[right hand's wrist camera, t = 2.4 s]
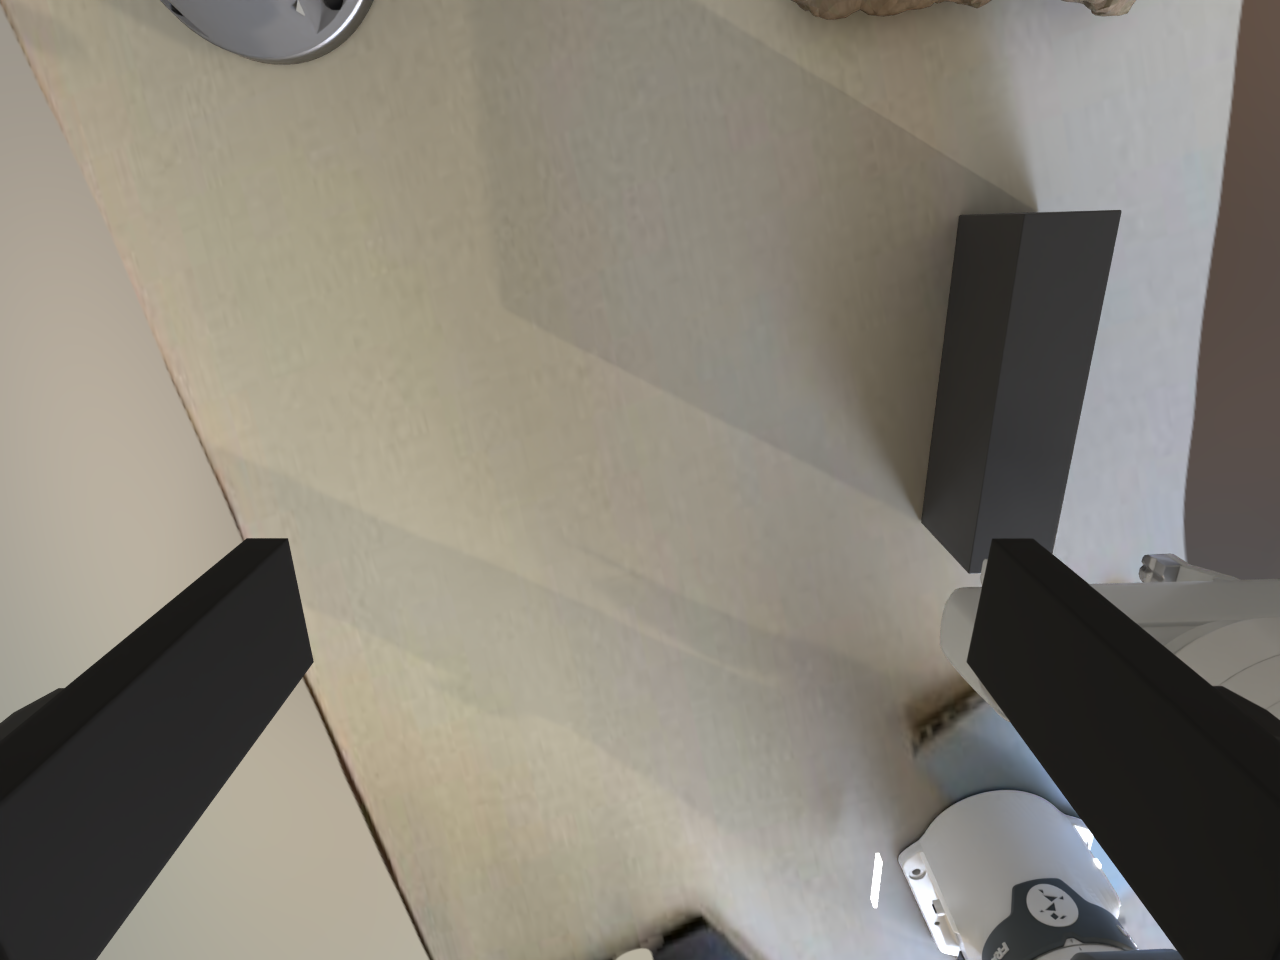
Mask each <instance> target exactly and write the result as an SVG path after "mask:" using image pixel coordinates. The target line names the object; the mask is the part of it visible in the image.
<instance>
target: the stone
mask: <svg viewBox="0 0 1280 960" xmlns="http://www.w3.org/2000/svg"><path fill="white" fill-rule="evenodd" d="M792 1H794V2H796V3H797V4H798V5H799V6H800V7H801V8H802V9H804V10H805V11H807V10H809V11H810V12H811V13H812V14H813V15H814V16H815V17H821V18H824V19H827V20H834V19H839V18H846V17H847V16H849V15H850V14H852V13H854V12H856V11H859V10H862V11H863V12H865V13H867V14H868V15H877V16H889V15H896V14H899V13H901V12H904V11H906V10H914V9H922V8H926V7H929V6H931V5H932V4H933V3H940V2H944V1H948V2H955V3H957V4H964V5H969V6H972V7H975V8H979V7H981V6H983V5H985V4H986V3H988V2H990V1H991V0H792ZM1063 1H1066V2H1078V3H1082V4H1084V5H1085V6H1086V7H1087V8H1089V9H1090V10H1091V12H1092V13H1093V14H1094V15H1098V16H1120V15H1123V14H1127V13H1128V12H1129V10H1130V8H1131V7H1132V5H1133V4H1134V2H1135V1H1136V0H1063Z"/></svg>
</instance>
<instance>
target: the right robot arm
mask: <svg viewBox="0 0 1280 960" xmlns="http://www.w3.org/2000/svg"><path fill="white" fill-rule="evenodd" d="M161 1H162V2H163V4H164V5H165V6H166V7H167V8H168V9H169V10H170V11H171V12H172V13H173V14H174V15H175V16H176V17H177V18H178V19H179V20H180V21H181V22H183V23H184V24H185V25H186V26H187V27H189V28H190V29H191V30H192V31H194V32H195V33H197V34H198V35H199V36H201V37H202V38H204V39H206V40H207V41H209V42H211V43H213V44H214V45H216V46H219V47H221V48H223V49H225V50H227V51H230V52H232V53H234V54H237V55H239V56H242V57H245V58H248V59H250V60H254V61H258V62H262V63H269V64H283V65H287V64H298V63H302V62H307V61H310V60H313V59H316V58H319V57H321V56H323V55H325V54H327V53H329V52H331V51H332V50H334V49H335V48H337V47H338V46H340V45H341V44H342V43H343V42H344V41H346V40H347V39H348V38H349V37H350V36H351V35H352V34H353V32H354V31H355V30H356V29H357V28H358V26H359V25H360V24H361V22H362V21H363V19H364V17H365V16H366V14H367V12H368V11H369V9H370V6H371V4H372V2H373V0H161ZM312 663H313V657H312V652H311V647H310V642H309V637H308V633H307V628H306V623H305V618H304V613H303V609H302V604H301V599H300V594H299V589H298V585H297V580H296V575H295V570H294V565H293V561H292V556H291V551H290V546H289V541H288V538H247V539H246V540H244V541H243V542H242V543H241V544H239V545H238V546H237V547H236V548H235V549H233V550H232V551H231V552H230V553H229V554H227V555H226V556H225V557H224V558H223V559H221V560H220V561H219V562H218V563H216V564H215V565H214V566H213V567H212V568H210V569H209V570H208V571H207V572H205V573H204V574H203V575H202V576H201V577H199V578H198V579H197V580H196V581H194V582H193V583H192V584H191V585H190V586H188V587H187V588H186V589H185V590H184V591H182V592H181V593H180V594H179V595H177V596H176V597H175V598H174V599H173V600H171V601H170V602H169V603H168V604H167V605H165V606H164V607H163V608H162V609H160V610H159V611H158V612H157V613H156V614H154V615H153V616H152V617H151V618H150V619H148V620H147V621H146V622H145V623H143V624H142V625H141V626H140V627H139V628H137V629H136V630H135V631H134V632H132V633H131V634H130V635H129V636H128V637H126V638H125V639H124V640H123V641H122V642H120V643H119V644H118V645H117V646H115V647H114V648H113V649H112V650H111V651H109V652H108V653H107V654H106V655H104V656H103V657H102V658H101V659H100V660H98V661H97V662H96V663H95V664H94V665H92V666H91V667H90V668H89V669H87V670H86V671H85V672H84V673H83V674H81V675H80V676H79V677H78V678H76V679H75V680H74V681H73V682H72V683H70V684H69V685H68V686H67V687H66V688H58V689H56V690H55V691H53V692H51V693H49V694H47V695H46V696H44V697H42V698H40V699H38V700H36V701H34V702H33V703H31V704H29V705H27V706H25V707H23V708H21V709H20V710H18V711H16V712H14V713H13V714H11V715H10V716H9V717H8V718H6V719H5V720H4V721H3V722H1V723H0V960H96V959H97V958H98V956H99V955H100V954H101V952H102V951H103V950H104V948H105V947H106V946H107V944H108V943H109V941H110V940H111V939H112V937H113V936H114V934H115V933H116V932H117V930H118V929H119V928H120V926H121V925H122V924H123V922H124V921H125V919H126V918H127V917H128V915H129V914H130V913H131V911H132V910H133V909H134V907H135V906H136V904H137V903H138V902H139V900H140V899H141V898H142V896H143V895H144V893H145V892H146V891H147V889H148V888H149V887H150V885H151V884H152V883H153V881H154V880H155V878H156V877H157V876H158V874H159V873H160V872H161V870H162V869H163V867H164V866H165V865H166V863H167V862H168V861H169V859H170V858H171V856H172V855H173V854H174V852H175V851H176V850H177V848H178V847H179V846H180V844H181V843H182V841H183V840H184V839H185V837H186V836H187V835H188V833H189V832H190V830H191V829H192V828H193V826H194V825H195V824H196V822H197V821H198V820H199V818H200V817H201V815H202V814H203V813H204V811H205V810H206V809H207V807H208V806H209V804H210V803H211V802H212V800H213V799H214V798H215V796H216V795H217V794H218V792H219V791H220V789H221V788H222V787H223V785H224V784H225V783H226V781H227V780H228V778H229V777H230V776H231V774H232V773H233V772H234V770H235V769H236V767H237V766H238V765H239V763H240V762H241V761H242V759H243V758H244V757H245V755H246V754H247V752H248V751H249V750H250V748H251V747H252V746H253V744H254V743H255V742H256V740H257V739H258V737H259V736H260V735H261V733H262V732H263V731H264V729H265V728H266V726H267V725H268V724H269V722H270V721H271V720H272V718H273V717H274V716H275V714H276V713H277V711H278V710H279V709H280V707H281V706H282V705H283V703H284V702H285V700H286V699H287V698H288V696H289V695H290V694H291V692H292V691H293V690H294V688H295V687H296V685H297V684H298V683H299V681H300V680H301V679H302V677H303V676H304V674H305V673H306V672H307V670H308V669H309V668H310V666H311V665H312ZM967 663H968V665H969V666H970V668H971V669H972V670H973V672H974V673H975V674H976V676H977V677H978V679H979V680H980V681H981V683H982V684H983V685H984V687H985V688H986V690H987V691H988V692H989V694H990V695H991V696H992V698H993V699H994V700H995V702H996V703H997V705H998V706H999V707H1000V709H1001V710H1002V711H1003V713H1004V714H1005V716H1006V717H1007V718H1008V720H1009V721H1010V722H1011V724H1012V725H1013V726H1014V728H1015V729H1016V731H1017V732H1018V733H1019V735H1020V736H1021V737H1022V739H1023V740H1024V742H1025V743H1026V744H1027V746H1028V747H1029V748H1030V750H1031V751H1032V752H1033V754H1034V755H1035V757H1036V758H1037V759H1038V761H1039V762H1040V763H1041V765H1042V766H1043V768H1044V769H1045V770H1046V772H1047V773H1048V774H1049V776H1050V777H1051V778H1052V780H1053V781H1054V783H1055V784H1056V785H1057V787H1058V788H1059V789H1060V791H1061V792H1062V794H1063V795H1064V796H1065V798H1066V799H1067V800H1068V802H1069V803H1070V805H1071V806H1072V807H1073V809H1074V810H1075V811H1076V813H1077V814H1078V815H1079V817H1080V818H1081V820H1082V821H1083V822H1084V824H1085V825H1086V826H1087V828H1088V829H1089V831H1090V832H1091V833H1092V835H1093V836H1094V837H1095V839H1096V840H1097V841H1098V843H1099V844H1100V846H1101V847H1102V848H1103V850H1104V851H1105V852H1106V854H1107V855H1108V857H1109V858H1110V859H1111V861H1112V862H1113V863H1114V865H1115V866H1116V867H1117V869H1118V870H1119V872H1120V873H1121V874H1122V876H1123V877H1124V878H1125V880H1126V881H1127V883H1128V884H1129V885H1130V887H1131V888H1132V889H1133V891H1134V892H1135V893H1136V895H1137V896H1138V898H1139V899H1140V900H1141V902H1142V903H1143V904H1144V906H1145V907H1146V909H1147V910H1148V911H1149V913H1150V914H1151V915H1152V917H1153V918H1154V920H1155V921H1156V922H1157V924H1158V925H1159V926H1160V928H1161V929H1162V930H1163V932H1164V933H1165V935H1166V936H1167V937H1168V939H1169V940H1170V941H1171V943H1172V944H1173V946H1174V947H1175V948H1176V950H1177V951H1178V952H1179V954H1180V955H1181V956H1182V958H1183V959H1184V960H1280V720H1279V719H1278V718H1277V717H1275V716H1274V715H1273V714H1271V713H1270V712H1269V711H1268V710H1266V709H1264V708H1262V707H1260V706H1259V705H1257V704H1255V703H1253V702H1251V701H1249V700H1247V699H1246V698H1244V697H1242V696H1240V695H1238V694H1236V693H1234V692H1233V691H1231V690H1229V689H1227V688H1225V687H1223V686H1212V685H1211V684H1210V683H1208V682H1207V681H1206V680H1205V679H1204V678H1202V677H1201V676H1200V675H1199V674H1197V673H1196V672H1195V671H1194V670H1193V669H1191V668H1190V667H1189V666H1188V665H1186V664H1185V663H1184V662H1183V661H1182V660H1180V659H1179V658H1178V657H1177V656H1176V655H1174V654H1173V653H1172V652H1171V651H1169V650H1168V649H1167V648H1166V647H1165V646H1163V645H1162V644H1161V643H1160V642H1159V641H1157V640H1156V639H1155V638H1154V637H1152V636H1151V635H1150V634H1149V633H1148V632H1146V631H1145V630H1144V629H1143V628H1141V627H1140V626H1139V625H1138V624H1137V623H1135V622H1134V621H1133V620H1132V619H1131V618H1129V617H1128V616H1127V615H1126V614H1124V613H1123V612H1122V611H1121V610H1120V609H1118V608H1117V607H1116V606H1115V605H1114V604H1112V603H1111V602H1110V601H1109V600H1107V599H1106V598H1105V597H1104V596H1103V595H1101V594H1100V593H1099V592H1098V591H1096V590H1095V589H1094V588H1093V587H1092V586H1090V585H1089V584H1088V583H1087V582H1086V581H1084V580H1083V579H1082V578H1081V577H1079V576H1078V575H1077V574H1076V573H1075V572H1073V571H1072V570H1071V569H1070V568H1069V567H1067V566H1066V565H1065V564H1064V563H1062V562H1061V561H1060V560H1059V559H1058V558H1056V557H1055V556H1054V555H1053V554H1051V553H1050V552H1049V551H1048V550H1047V549H1045V548H1044V547H1043V546H1042V545H1041V544H1039V543H1038V542H1037V541H1036V540H1034V539H1033V538H992V541H991V546H990V551H989V556H988V561H987V565H986V570H985V575H984V580H983V585H982V589H981V594H980V599H979V604H978V609H977V613H976V618H975V623H974V628H973V633H972V637H971V642H970V647H969V652H968V657H967Z"/></svg>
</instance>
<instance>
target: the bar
mask: <svg viewBox="0 0 1280 960" xmlns="http://www.w3.org/2000/svg"><path fill="white" fill-rule="evenodd" d="M1120 216H1121V210H1105V211H1071V212H1037V213H1008V214H978V215H960V216H959V223H958V231H957V239H956V247H955V255H954V263H953V271H952V279H951V287H950V295H949V304H948V312H947V320H946V328H945V336H944V344H943V352H942V360H941V368H940V376H939V384H938V392H937V400H936V408H935V416H934V424H933V432H932V440H931V449H930V457H929V465H928V473H927V481H926V489H925V497H924V505H923V513H922V521H921V523H922V524H923V525H924V526H925V527H926V528H927V529H928V530H929V531H930V532H931V533H932V535H933V536H934V537H935V538H936V539H937V540H938V541H939V542H940V543H941V544H942V545H943V546H944V547H945V548H946V550H947V551H948V552H949V553H950V554H951V555H952V556H953V557H954V558H955V559H956V560H957V561H958V562H959V564H960V565H961V566H962V567H963V568H964V569H965V570H966V571H967V572H968V573H981V570H982V565H983V561H984V560H985V559H988V556H989V551H990V546H991V541H992V538H1033V539H1034V540H1036V541H1037V542H1038V543H1039V544H1041V545H1042V546H1043V547H1044V548H1045V549H1047V550H1048V551H1049V552H1050V553H1051V554H1052V553H1053V548H1054V543H1055V538H1056V533H1057V528H1058V523H1059V518H1060V513H1061V509H1062V504H1063V499H1064V494H1065V489H1066V484H1067V479H1068V474H1069V469H1070V464H1071V459H1072V454H1073V449H1074V444H1075V439H1076V434H1077V429H1078V424H1079V419H1080V414H1081V409H1082V404H1083V399H1084V395H1085V390H1086V385H1087V380H1088V375H1089V370H1090V365H1091V360H1092V355H1093V350H1094V345H1095V340H1096V335H1097V330H1098V325H1099V320H1100V315H1101V310H1102V305H1103V300H1104V295H1105V290H1106V285H1107V281H1108V276H1109V271H1110V266H1111V261H1112V256H1113V251H1114V246H1115V241H1116V236H1117V231H1118V226H1119V221H1120Z"/></svg>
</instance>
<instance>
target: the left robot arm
mask: <svg viewBox="0 0 1280 960" xmlns="http://www.w3.org/2000/svg"><path fill="white" fill-rule="evenodd" d="M987 561H988V559H985V560H984V561H983V565H982V570H981V576H980V579H981V583H982V585H983V580H984V575H985V570H986V565H987ZM1142 563H1143V566H1142V567H1141V568H1140V570H1139V577H1140V579H1141V581H1142V582H1143V583H1110V584H1089V585H1090V586H1092V587H1093V588H1094V589H1095V590H1096V591H1098V592H1099V593H1100V594H1101V595H1103V596H1104V597H1105V598H1106V599H1107V600H1109V601H1110V602H1111V603H1112V604H1114V605H1115V606H1116V607H1117V608H1118V609H1120V610H1121V611H1122V612H1123V613H1124V614H1126V615H1127V616H1128V617H1129V618H1131V619H1132V620H1133V621H1134V622H1135V623H1137V624H1138V625H1139V626H1140V627H1141V628H1143V629H1144V630H1145V631H1146V632H1148V633H1149V634H1150V635H1151V636H1152V637H1154V638H1155V639H1156V640H1157V641H1159V642H1160V643H1161V644H1162V645H1163V646H1165V647H1166V648H1167V649H1168V650H1169V651H1171V652H1172V653H1173V654H1174V655H1176V656H1177V657H1178V658H1179V659H1180V660H1182V661H1183V662H1184V663H1185V664H1186V665H1188V666H1189V667H1190V668H1191V669H1193V670H1194V671H1195V672H1196V673H1197V674H1199V675H1200V676H1201V677H1202V678H1204V679H1205V680H1206V681H1207V682H1208V683H1210V684H1211V685H1212V686H1223V687H1225V688H1227V689H1229V690H1231V691H1233V692H1234V693H1236V694H1238V695H1240V696H1242V697H1244V698H1246V699H1247V700H1249V701H1251V702H1253V703H1255V704H1257V705H1259V706H1260V707H1262V708H1264V709H1266V710H1268V711H1269V712H1270V713H1271V714H1273V715H1274V716H1275V717H1277V718H1278V719H1279V720H1280V579H1258V580H1239V579H1238V578H1236V577H1233V576H1229V575H1226V574H1222V573H1218V572H1215V571H1211V570H1208V569H1205V568H1201V567H1197V566H1194V565H1190V564H1188V563H1187V562H1185V561H1183V560H1182V559H1180V558H1179V557H1177V556H1175V555H1174V554H1154V555H1144V557H1143V558H1142ZM981 589H982V587H963V588H958V589H956V590H954V591H953V592H952V594H951V595H950V597H949V598H948V600H947V601H946V604H945V606H944V611H943V615H942V621H941V629H940V646H941V649H942V652H943V653H944V655H945V656H946V658H947V659H948V660H949V662H950V663H951V664H952V665H953V666H954V668H955V669H956V670H957V671H958V672H959V674H960V675H961V676H962V677H963V678H964V679H965V680H966V681H967V682H968V683H969V685H970V686H971V687H972V688H973V689H974V690H975V691H976V692H977V693H978V694H979V695H980V696H981V697H982V698H983V699H984V700H985V701H986V702H987V703H988V704H989V705H990V706H991V707H993V708H994V710H995V711H996V712H997V713H998V714H999V715H1000V716H1001V717H1002V718H1004V719H1005V720H1006V721H1008V722H1010V721H1009V720H1008V718H1007V717H1006V716H1005V714H1004V713H1003V711H1002V710H1001V709H1000V707H999V706H998V705H997V703H996V702H995V700H994V699H993V698H992V696H991V695H990V694H989V692H988V691H987V690H986V688H985V687H984V685H983V684H982V683H981V681H980V680H979V679H978V677H977V676H976V674H975V673H974V672H973V670H972V669H971V668H970V666H969V665H968V663H967V657H968V652H969V647H970V642H971V637H972V633H973V628H974V623H975V618H976V613H977V609H978V604H979V599H980V594H981ZM1092 841H1093V835H1092V833H1091V832H1090V831H1089V829H1088V828H1087V826H1086V825H1085V824H1084V822H1083V821H1082V820H1081V819H1079V818H1076V817H1073V816H1069V815H1065V814H1064V813H1062V812H1061V811H1059V810H1058V809H1057V808H1056V807H1055V806H1054V805H1053V804H1051V803H1050V802H1049V801H1047V800H1046V799H1044V798H1042V797H1040V796H1037V795H1035V794H1032V793H1028V792H1024V791H1017V790H996V791H989V792H984V793H980V794H976V795H973V796H970V797H968V798H965V799H963V800H961V801H959V802H957V803H955V804H954V805H952V806H950V807H949V808H947V809H946V810H945V811H943V812H942V813H941V814H940V815H939V816H938V817H937V818H936V819H935V820H934V821H933V822H932V823H931V825H930V826H929V827H928V829H927V830H926V832H925V833H924V835H923V836H922V837H921V838H920V839H919V840H918V841H917V842H915V843H914V844H912V845H911V846H909V847H908V848H906V849H905V850H904V851H903V852H902V853H901V854H900V855H899V858H898V861H899V864H900V866H901V868H902V870H903V873H904V875H905V877H906V879H907V881H908V884H909V886H910V888H911V890H912V893H913V895H914V897H915V899H916V902H917V904H918V906H919V908H920V910H921V913H922V915H923V917H924V919H925V922H926V924H927V926H928V928H929V931H930V933H931V935H932V937H933V939H934V941H935V943H936V945H937V947H938V949H939V950H940V951H941V952H942V953H945V954H948V955H953V956H958V959H957V960H1184V959H1183V958H1182V956H1181V955H1180V954H1179V952H1178V951H1175V950H1173V949H1150V950H1138V948H1137V946H1136V944H1135V943H1134V941H1133V940H1132V938H1131V937H1130V935H1129V934H1128V933H1127V932H1126V931H1125V930H1124V929H1123V927H1122V926H1121V924H1120V923H1119V921H1118V920H1117V918H1118V916H1119V907H1120V906H1121V902H1120V899H1119V897H1118V895H1117V893H1116V891H1115V890H1114V888H1113V887H1112V885H1111V883H1110V882H1109V880H1108V878H1107V877H1106V875H1105V874H1104V872H1103V870H1102V869H1101V863H1100V862H1099V861H1098V859H1095V857H1094V856H1093V854H1092V853H1091V851H1090V848H1091V844H1092ZM881 870H882V860H881V857H880V854H879V853H876V856H875V865H874V874H873V882H872V891H871V901H872V904H873V907H874V908H877V903H878V895H879V886H880V878H881Z"/></svg>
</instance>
